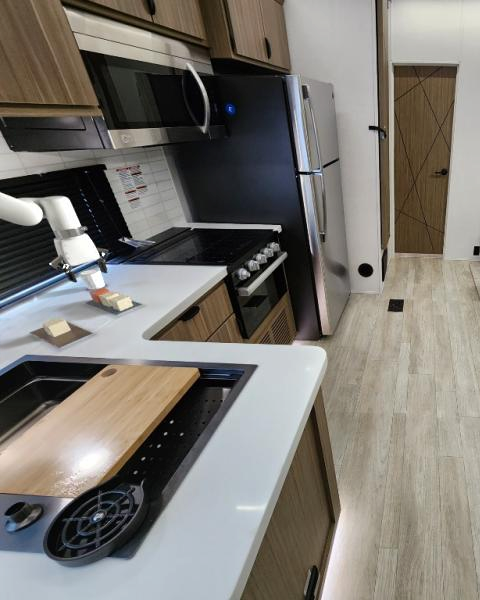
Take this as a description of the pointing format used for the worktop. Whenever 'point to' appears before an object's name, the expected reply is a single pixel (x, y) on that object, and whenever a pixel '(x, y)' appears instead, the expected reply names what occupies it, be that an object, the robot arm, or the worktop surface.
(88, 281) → the white cup
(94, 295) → the orange cube
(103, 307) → the grey flat plate
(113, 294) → the back tile
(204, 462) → the worktop surface
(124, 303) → the back tile
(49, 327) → the front cream tile
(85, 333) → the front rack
